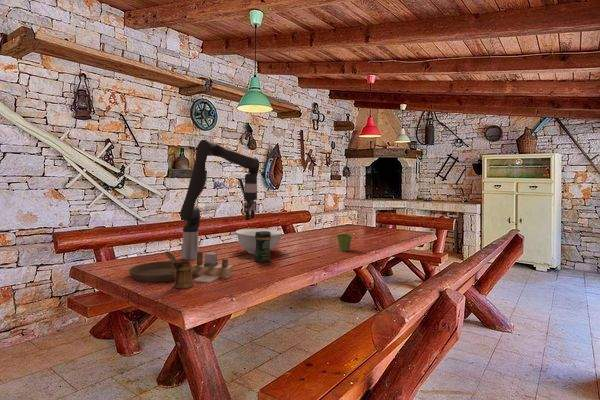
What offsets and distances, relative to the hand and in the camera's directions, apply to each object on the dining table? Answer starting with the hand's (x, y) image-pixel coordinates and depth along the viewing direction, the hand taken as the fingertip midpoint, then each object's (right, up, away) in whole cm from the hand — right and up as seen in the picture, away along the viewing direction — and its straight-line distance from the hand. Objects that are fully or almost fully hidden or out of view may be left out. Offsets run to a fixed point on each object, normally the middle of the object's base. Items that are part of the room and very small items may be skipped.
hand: (250, 219), depth 218 cm
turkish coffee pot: (-27, -30, -43) cm, 59 cm away
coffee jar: (+6, -27, +15) cm, 31 cm away
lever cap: (-18, -22, -21) cm, 35 cm away
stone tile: (-18, -29, -30) cm, 45 cm away
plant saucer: (-43, -28, -23) cm, 57 cm away
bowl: (+1, -25, +40) cm, 48 cm away
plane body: (-17, -28, -21) cm, 39 cm away
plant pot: (+61, -26, +53) cm, 85 cm away
